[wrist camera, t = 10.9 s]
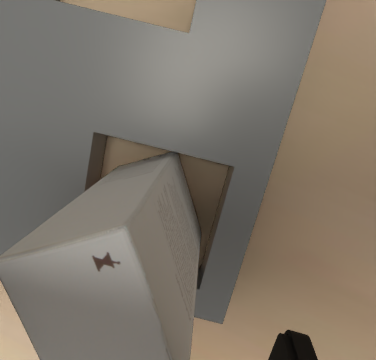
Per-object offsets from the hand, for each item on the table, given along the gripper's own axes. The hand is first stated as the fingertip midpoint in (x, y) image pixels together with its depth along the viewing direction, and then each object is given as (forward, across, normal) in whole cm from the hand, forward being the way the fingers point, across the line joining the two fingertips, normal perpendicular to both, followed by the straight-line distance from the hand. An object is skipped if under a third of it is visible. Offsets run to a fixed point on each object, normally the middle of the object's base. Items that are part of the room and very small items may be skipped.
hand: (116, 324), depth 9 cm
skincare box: (+12, +1, 0) cm, 12 cm away
